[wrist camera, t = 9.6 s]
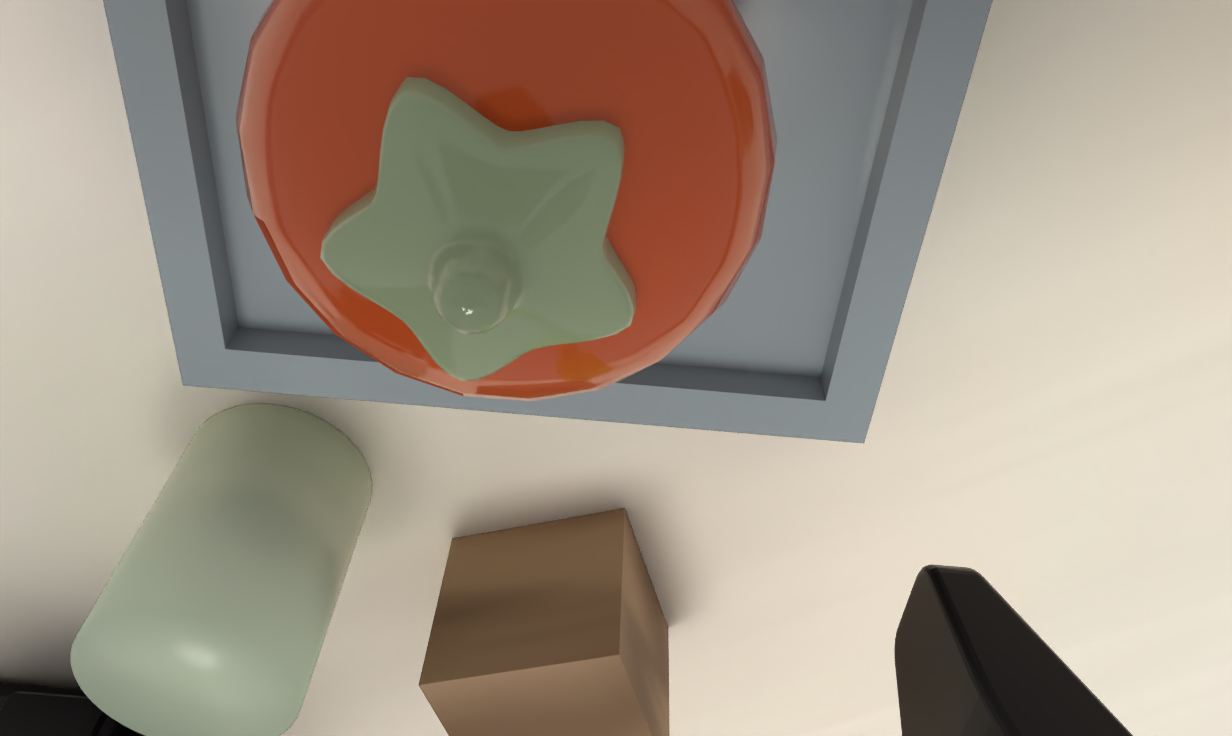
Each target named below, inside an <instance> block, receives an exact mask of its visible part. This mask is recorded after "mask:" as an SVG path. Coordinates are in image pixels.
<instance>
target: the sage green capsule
mask: <svg viewBox="0 0 1232 736" xmlns="http://www.w3.org/2000/svg"><path fill="white" fill-rule="evenodd" d="M371 495H372V479H371V474H370V471H369V468H368V465H367V463H366V461H365V459H364V457H363V456H362V454H361V453H360V451H359V450H358V449H357V447H356V446H355V445H354V444H353V443H352V442H351V441H350V439H348V438H347V437H346V436H345V435H344V434H343V433H342V432H341V431H339V430H338V429H336V428H335V427H334V426H332V425H331V424H329V423H327V422H325V421H324V420H322V419H320V418H318V417H316V416H314V415H311V414H309V413H307V412H304V411H301V410H298V409H295V408H290V407H286V406H281V405H274V404H247V405H241V406H236V407H232V408H229V409H226V410H223V411H221V412H219V413H217V414H215V415H214V416H212V417H211V418H209V419H208V420H206V421H205V422H204V423H203V424H202V425H201V426H200V427H199V429H198V430H197V431H196V433H195V434H194V436H193V438H192V439H191V441H190V443H189V445H188V446H187V448H186V450H185V451H184V453H183V455H182V456H181V458H180V460H179V462H178V463H177V465H176V467H175V468H174V470H173V472H172V474H171V475H170V477H169V479H168V480H167V482H166V484H165V485H164V487H163V489H162V491H161V492H160V494H159V496H158V497H157V499H156V501H155V503H154V504H153V506H152V508H151V509H150V511H149V513H148V515H147V516H146V518H145V520H144V521H143V523H142V525H141V526H140V528H139V530H138V532H137V533H136V535H135V537H134V538H133V540H132V542H131V544H130V545H129V547H128V549H127V550H126V552H125V554H124V555H123V557H122V559H121V561H120V562H119V564H118V566H117V567H116V569H115V571H114V573H113V574H112V576H111V578H110V579H109V581H108V583H107V584H106V586H105V588H104V590H103V591H102V593H101V595H100V596H99V598H98V600H97V602H96V603H95V605H94V607H93V608H92V610H91V612H90V613H89V615H88V617H87V619H86V620H85V622H84V624H83V625H82V627H81V629H80V631H79V632H78V634H77V636H76V637H75V640H74V642H73V644H72V648H71V653H70V660H71V667H72V671H73V674H74V676H75V679H76V681H77V683H78V684H79V686H80V687H81V689H82V691H83V692H84V693H85V694H86V696H87V697H88V698H89V699H90V700H91V701H92V702H93V703H94V704H95V705H96V706H97V707H98V708H99V709H100V710H102V711H103V712H104V713H106V714H107V715H108V716H110V717H111V718H113V719H114V720H116V721H117V722H119V723H121V724H122V725H124V726H126V727H128V728H130V729H132V730H134V731H136V732H138V733H140V734H143V735H145V736H279V735H281V734H282V733H284V732H285V731H286V730H287V729H288V728H289V727H290V726H291V725H292V724H293V723H294V721H295V720H296V718H297V716H298V714H299V712H300V709H301V706H302V703H303V700H304V697H305V694H306V691H307V688H308V685H309V682H310V679H311V676H312V673H313V670H314V667H315V664H316V661H317V658H318V655H319V652H320V650H321V647H322V644H323V641H324V638H325V635H326V632H327V629H328V626H329V623H330V620H331V617H332V614H333V611H334V608H335V605H336V602H337V599H338V596H339V593H340V590H341V587H342V584H343V581H344V578H345V575H346V572H347V569H348V566H349V563H350V560H351V557H352V554H353V551H354V548H355V545H356V542H357V539H358V536H359V533H360V530H361V527H362V524H363V521H364V518H365V515H366V512H367V509H368V506H369V504H370V501H371Z"/></svg>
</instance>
